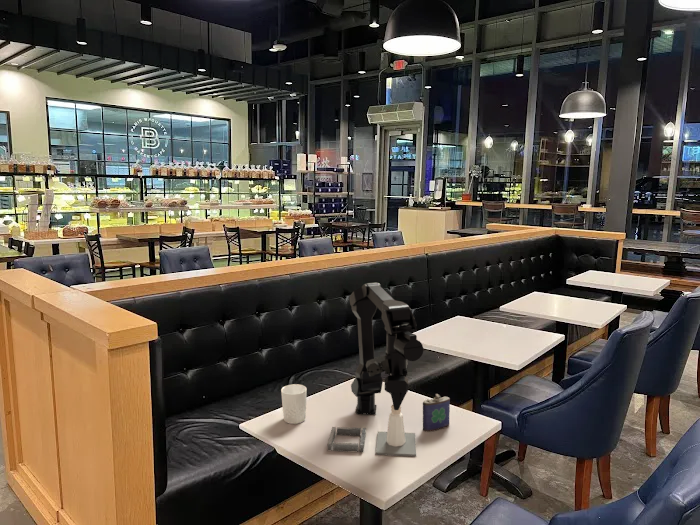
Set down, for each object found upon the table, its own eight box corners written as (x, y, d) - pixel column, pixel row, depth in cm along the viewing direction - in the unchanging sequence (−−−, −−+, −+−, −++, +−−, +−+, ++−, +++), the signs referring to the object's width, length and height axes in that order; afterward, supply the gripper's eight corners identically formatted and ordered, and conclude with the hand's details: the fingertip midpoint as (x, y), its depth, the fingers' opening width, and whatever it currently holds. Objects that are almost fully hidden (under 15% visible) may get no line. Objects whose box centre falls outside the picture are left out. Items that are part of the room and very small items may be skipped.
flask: (446, 422, 162) (447, 390, 160) (451, 426, 159) (452, 393, 158) (420, 428, 158) (421, 395, 156) (426, 433, 156) (426, 399, 154)
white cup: (277, 419, 165) (276, 389, 164) (296, 411, 171) (295, 382, 169) (292, 427, 160) (291, 396, 158) (312, 419, 165) (311, 389, 163)
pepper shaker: (395, 448, 146) (396, 411, 144) (382, 441, 150) (382, 405, 148) (409, 442, 149) (409, 406, 147) (395, 435, 153) (396, 399, 151)
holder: (332, 433, 156) (332, 426, 156) (365, 434, 155) (365, 428, 155) (327, 450, 146) (327, 443, 146) (363, 452, 145) (363, 445, 145)
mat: (377, 433, 156) (377, 431, 156) (415, 434, 155) (415, 432, 154) (375, 454, 144) (375, 452, 144) (416, 456, 143) (416, 454, 143)
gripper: (369, 338, 154) (369, 388, 157) (365, 360, 136) (365, 416, 139) (407, 339, 153) (407, 389, 156) (408, 361, 135) (408, 418, 138)
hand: (396, 402), depth 147 cm, fingers open, 9 cm apart
